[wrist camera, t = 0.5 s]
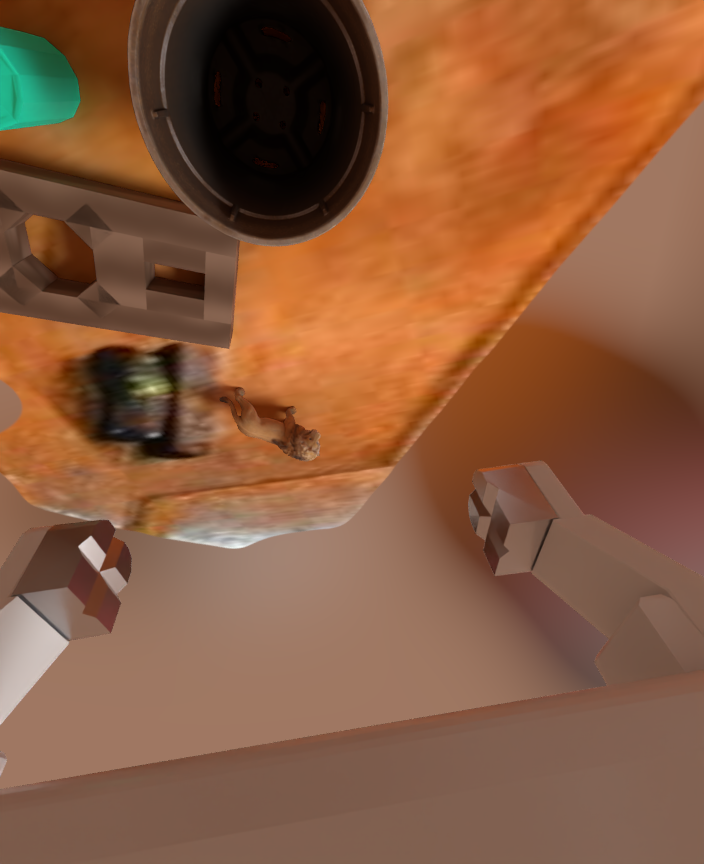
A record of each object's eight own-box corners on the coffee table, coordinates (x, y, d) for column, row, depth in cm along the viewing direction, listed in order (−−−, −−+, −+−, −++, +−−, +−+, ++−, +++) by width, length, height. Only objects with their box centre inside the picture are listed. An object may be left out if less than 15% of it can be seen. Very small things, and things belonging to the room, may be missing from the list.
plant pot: (351, 207, 45) (375, 250, 32) (198, 200, 43) (162, 244, 30) (362, -8, 34) (405, -65, 22) (162, -32, 32) (85, -109, 20)
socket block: (-23, 152, 38) (-50, 158, 35) (241, 216, 44) (238, 225, 41) (14, 297, 46) (-5, 311, 43) (232, 333, 52) (229, 348, 49)
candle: (24, 124, 37) (-62, 134, 28) (-16, 32, 33) (-131, 9, 24) (92, 121, 38) (29, 130, 28) (60, 31, 34) (-24, 7, 25)
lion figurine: (322, 406, 61) (327, 445, 55) (312, 432, 64) (315, 473, 58) (223, 382, 57) (214, 421, 50) (216, 411, 60) (207, 452, 53)
